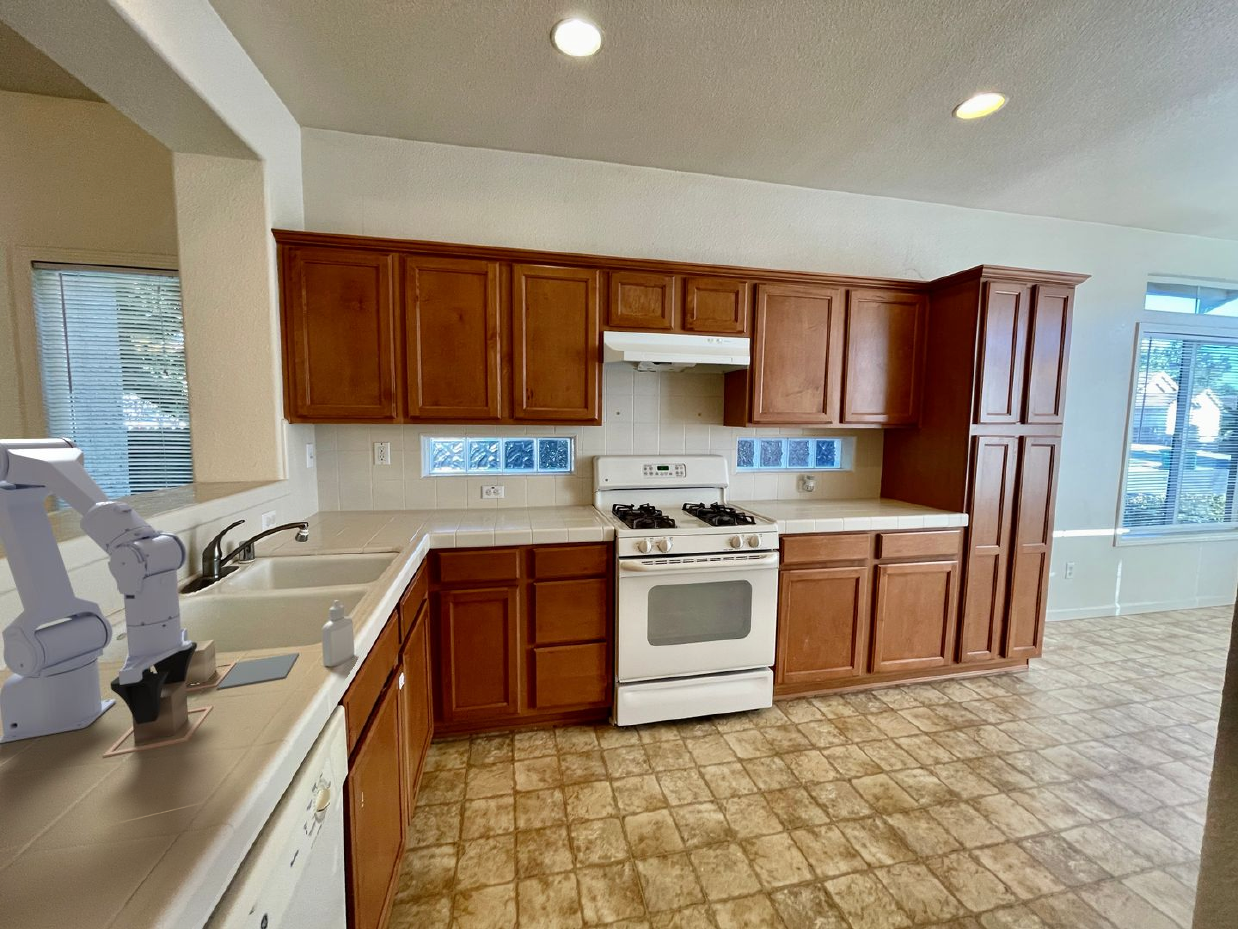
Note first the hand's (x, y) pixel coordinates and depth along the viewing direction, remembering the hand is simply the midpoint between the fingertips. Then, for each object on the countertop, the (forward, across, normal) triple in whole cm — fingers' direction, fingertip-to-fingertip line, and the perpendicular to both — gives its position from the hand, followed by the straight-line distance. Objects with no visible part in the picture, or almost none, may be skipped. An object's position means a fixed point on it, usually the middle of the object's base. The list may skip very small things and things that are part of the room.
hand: (161, 707), depth 72 cm
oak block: (+3, +17, +2) cm, 18 cm away
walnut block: (+3, 0, 0) cm, 4 cm away
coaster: (+4, +16, -8) cm, 18 cm away
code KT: (+4, 0, 0) cm, 4 cm away
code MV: (+4, +17, +2) cm, 18 cm away
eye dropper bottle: (+4, +15, -21) cm, 26 cm away
